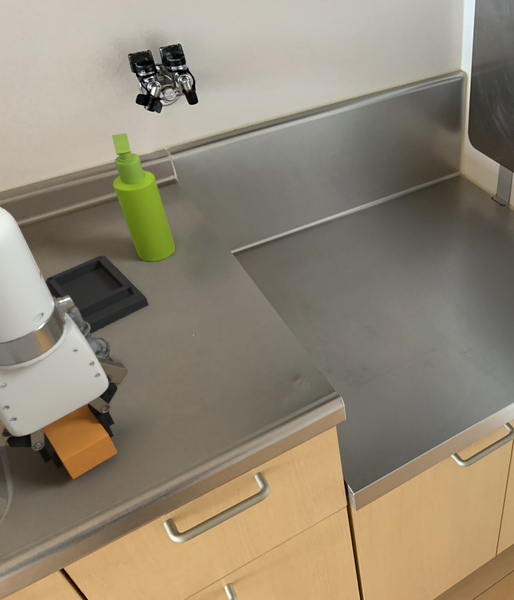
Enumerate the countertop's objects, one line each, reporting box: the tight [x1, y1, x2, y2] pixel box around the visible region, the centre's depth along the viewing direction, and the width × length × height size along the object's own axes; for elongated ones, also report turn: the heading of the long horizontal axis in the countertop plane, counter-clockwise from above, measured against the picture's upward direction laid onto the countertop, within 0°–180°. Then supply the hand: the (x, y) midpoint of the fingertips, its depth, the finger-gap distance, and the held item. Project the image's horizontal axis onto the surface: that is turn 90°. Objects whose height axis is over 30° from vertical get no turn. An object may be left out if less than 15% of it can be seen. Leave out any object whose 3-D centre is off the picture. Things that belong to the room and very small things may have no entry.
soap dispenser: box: [111, 132, 176, 263], centre depth 93 cm, size 6×7×20 cm
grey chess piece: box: [66, 307, 114, 361], centre depth 76 cm, size 6×6×12 cm
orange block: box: [43, 403, 118, 480], centre depth 68 cm, size 5×7×4 cm
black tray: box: [44, 254, 149, 334], centre depth 90 cm, size 10×14×3 cm
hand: (80, 443), depth 69 cm, fingers closed on orange block, 5 cm apart
